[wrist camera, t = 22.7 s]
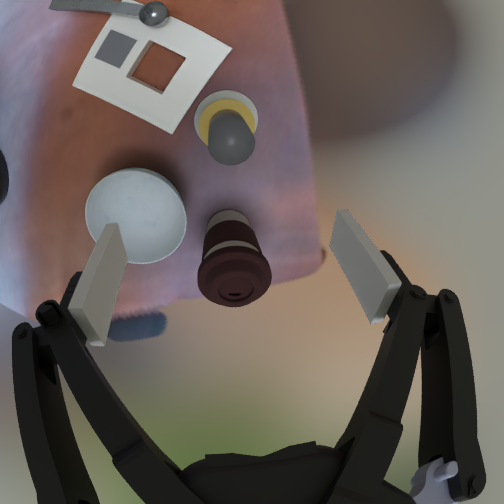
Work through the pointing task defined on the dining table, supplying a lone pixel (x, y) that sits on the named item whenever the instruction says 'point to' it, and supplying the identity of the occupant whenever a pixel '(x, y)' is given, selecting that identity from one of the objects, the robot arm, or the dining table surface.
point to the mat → (223, 95)
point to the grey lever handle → (118, 9)
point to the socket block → (130, 55)
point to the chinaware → (138, 213)
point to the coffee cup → (232, 262)
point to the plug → (228, 131)
